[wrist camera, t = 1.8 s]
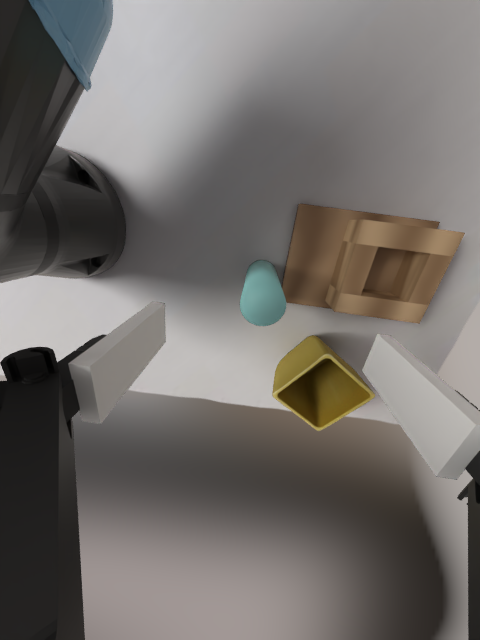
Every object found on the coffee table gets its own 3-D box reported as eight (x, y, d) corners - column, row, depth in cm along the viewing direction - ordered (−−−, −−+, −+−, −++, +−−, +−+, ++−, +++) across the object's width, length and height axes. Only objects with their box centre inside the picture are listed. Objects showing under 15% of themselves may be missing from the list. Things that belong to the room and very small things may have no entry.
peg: (244, 287, 31) (237, 322, 20) (248, 258, 29) (243, 279, 18) (273, 291, 31) (281, 328, 20) (278, 262, 29) (290, 286, 18)
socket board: (278, 299, 31) (282, 312, 27) (298, 204, 26) (306, 200, 22) (392, 315, 31) (415, 331, 26) (433, 222, 26) (470, 221, 21)
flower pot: (305, 386, 37) (318, 433, 29) (267, 356, 35) (270, 396, 27) (349, 354, 34) (377, 396, 26) (310, 319, 32) (328, 352, 24)
